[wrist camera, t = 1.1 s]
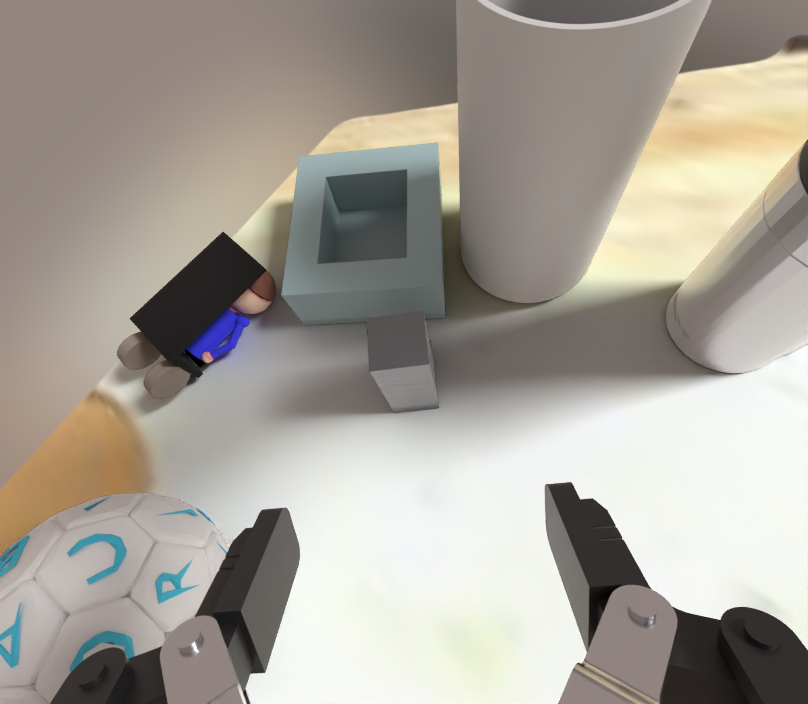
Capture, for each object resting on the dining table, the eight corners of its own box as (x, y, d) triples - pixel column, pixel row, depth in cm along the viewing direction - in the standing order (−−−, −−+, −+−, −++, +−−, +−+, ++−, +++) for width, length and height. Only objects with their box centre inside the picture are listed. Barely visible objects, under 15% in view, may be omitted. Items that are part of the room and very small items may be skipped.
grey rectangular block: (438, 408, 39) (429, 364, 29) (394, 413, 39) (369, 371, 29) (431, 346, 41) (420, 285, 31) (389, 351, 42) (365, 293, 32)
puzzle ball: (137, 763, 32) (-111, 936, 18) (68, 578, 38) (-161, 604, 24) (306, 618, 34) (199, 674, 20) (217, 463, 40) (86, 426, 26)
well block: (441, 187, 48) (438, 142, 43) (445, 318, 42) (442, 285, 37) (317, 197, 50) (299, 156, 45) (304, 325, 44) (281, 295, 38)
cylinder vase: (607, 292, 41) (787, -12, 18) (474, 317, 42) (485, 56, 19) (568, 190, 46) (671, -151, 23) (450, 214, 47) (435, -93, 24)
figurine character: (196, 413, 44) (299, 298, 45) (136, 398, 36) (261, 262, 38) (158, 372, 46) (258, 264, 47) (95, 350, 39) (214, 223, 40)
